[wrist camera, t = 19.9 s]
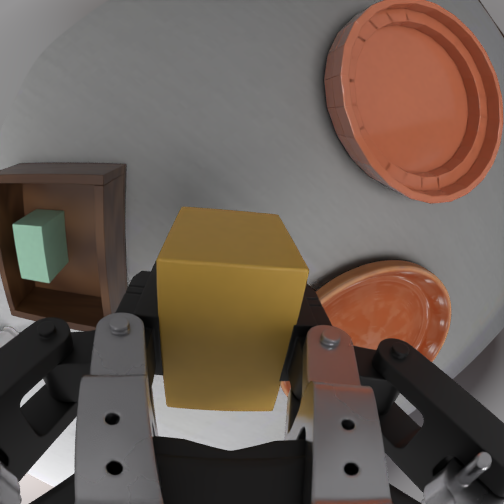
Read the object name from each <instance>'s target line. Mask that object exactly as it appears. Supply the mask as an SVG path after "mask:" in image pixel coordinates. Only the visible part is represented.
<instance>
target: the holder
mask: <svg viewBox="0 0 504 504" xmlns="http://www.w3.org/2000/svg"><path fill="white" fill-rule="evenodd" d="M125 187H126V164H117V163H20V164H17V165H14V166H11V167H8V168H5V169H2V170H0V274H1V278H2V282H3V286H4V290H5V294H6V298H7V301H8V304H9V308H10V311H11V315H13V316H17V317H21V318H25V319H29V320H33V321H38V320H40V319H43V318H48V317H55V318H60V319H62V320H64V321H66V322H67V323H68V325H69V328H70V329H75V330H80V331H92V330H96V326H97V324H98V322H99V321H100V320H101V319H102V318H103V317H105V316H107V315H110V314H113V313H115V312H116V310H117V308H118V306H119V304H120V302H121V300H122V298H123V296H124V294H125V293H126V290H127V272H126V248H125ZM36 209H44V210H60V211H64V218H65V232H66V243H67V252H68V261H69V262H68V263H67V264H66V265H65V266H64V268H63V269H62V270H61V271H60V272H59V273H58V274H57V275H56V276H55V278H54V279H53V280H52V281H51V282H50V283H45V282H39V281H34V280H28V279H23V278H21V273H20V268H19V263H18V258H17V252H16V246H15V240H14V233H13V223H15V222H17V221H18V220H20V219H21V218H23V217H24V216H26V215H28V214H29V213H31V212H33V211H34V210H36Z"/></svg>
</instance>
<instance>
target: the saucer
mask: <svg viewBox="0 0 504 504" xmlns="http://www.w3.org/2000/svg"><path fill="white" fill-rule="evenodd" d="M316 294H317V296H318V298H319V300H320V302H321V304H322V307H323V308H324V310H325V312H326V314H327V316H328V318H329V320H330V322H331V324H332V326H334V327H337V328H339V329H341V330H343V331H344V332H346V333H347V334H348V335H349V336H350V337H351V339H352V342H353V345H354V346H358V347H363V348H368V349H373V350H376V349H377V347H378V345H379V343H380V342H381V341H382V340H384V339H388V338H395V339H400V340H403V341H405V342H407V343H409V344H410V345H411V346H413V347H414V348H415V349H416V350H417V351H419V352H420V353H421V354H422V355H424V356H425V357H426V358H427V359H428V360H430V361H431V362H433V360H434V359H435V358H436V356H437V354H438V353H439V351H440V349H441V348H442V346H443V344H444V341H445V339H446V337H447V334H448V331H449V327H450V321H451V302H450V298H449V294H448V292H447V290H446V288H445V286H444V285H443V283H442V282H441V281H440V280H439V279H438V278H437V277H436V276H435V275H434V274H433V273H431V272H430V271H428V270H427V269H425V268H424V267H422V266H420V265H418V264H415V263H412V262H408V261H401V260H386V261H378V262H373V263H369V264H366V265H363V266H360V267H357V268H354V269H352V270H350V271H347V272H345V273H343V274H341V275H339V276H338V277H336V278H334V279H333V280H331V281H330V282H328V283H327V284H325V285H324V286H322V287H321V288H320V289H318V290H317V291H316ZM280 385H281V388H282V390H283V392H284V393H285V394H286V396H287V397H288V394H289V391H290V388H291V385H290V381H281V384H280Z"/></svg>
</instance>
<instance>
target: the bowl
mask: <svg viewBox="0 0 504 504" xmlns="http://www.w3.org/2000/svg"><path fill="white" fill-rule="evenodd" d="M324 84H325V92H326V101H327V108H328V112H329V114H330V117H331V120H332V123H333V125H334V128H335V131H336V134H337V136H338V138H339V139H340V141H341V142H342V144H343V146H344V147H345V149H346V150H347V152H348V154H349V155H350V157H351V158H352V160H353V161H354V162H355V163H356V164H357V165H358V166H359V167H361V168H362V169H363V170H364V171H365V172H366V173H367V175H368V176H370V177H371V178H373V179H375V180H376V181H378V182H380V183H382V184H383V185H385V186H387V187H388V188H390V189H393V190H395V191H397V192H399V193H401V194H403V195H405V196H407V197H409V198H411V199H414V200H419V201H423V202H427V203H442V202H450V201H453V200H455V199H458V198H460V197H462V196H464V195H466V194H468V193H469V192H470V191H471V190H473V189H474V188H475V187H476V186H477V185H478V184H479V183H480V182H481V181H482V180H483V179H484V177H485V176H486V174H487V173H488V171H489V170H490V168H491V166H492V165H493V163H494V160H495V158H496V155H497V152H498V149H499V146H500V143H501V136H502V128H503V105H502V95H501V91H500V87H499V83H498V79H497V75H496V73H495V70H494V68H493V66H492V63H491V61H490V59H489V57H488V55H487V53H486V51H485V49H484V48H483V47H482V45H481V44H480V42H479V41H478V39H477V38H476V36H475V35H474V34H473V32H472V31H471V30H470V29H469V28H468V27H467V26H465V25H464V24H463V23H462V22H461V21H460V20H459V19H458V18H457V17H456V16H455V15H453V14H452V13H450V12H449V11H447V10H445V9H444V8H442V7H440V6H439V5H437V4H435V3H432V2H429V1H426V0H383V1H381V2H378V3H376V4H374V5H371V6H370V7H368V8H367V9H365V10H364V11H362V12H361V13H359V14H358V15H356V16H355V17H353V18H352V19H351V20H350V21H349V22H348V23H347V24H346V25H345V26H344V27H343V28H342V29H341V30H340V31H339V32H338V33H337V36H336V38H335V40H334V42H333V44H332V46H331V48H330V50H329V53H328V55H327V63H326V70H325V77H324Z"/></svg>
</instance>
